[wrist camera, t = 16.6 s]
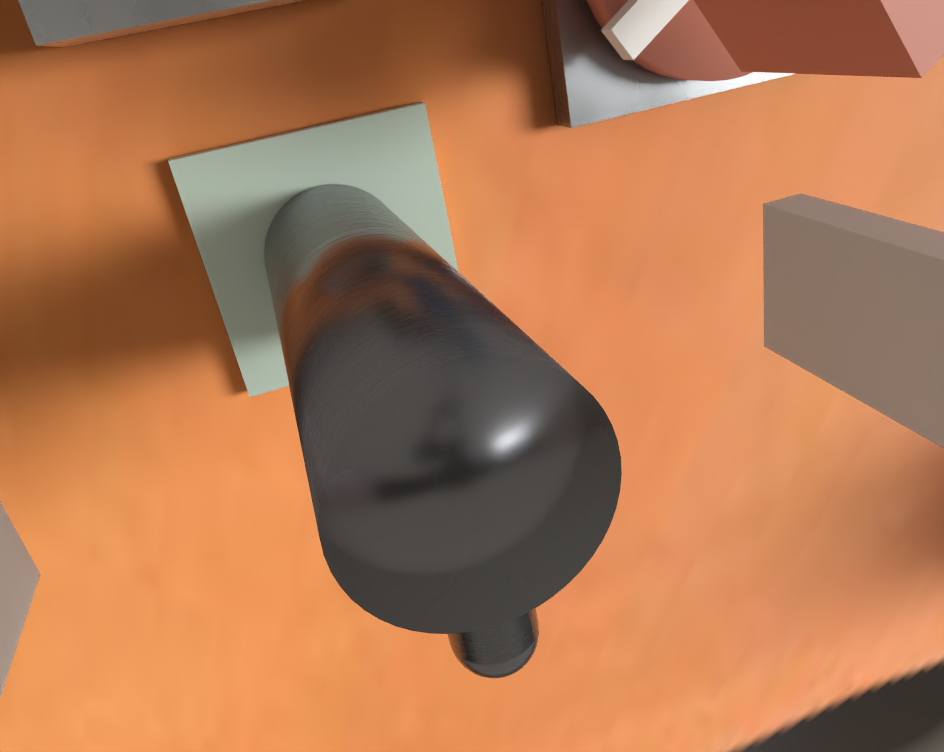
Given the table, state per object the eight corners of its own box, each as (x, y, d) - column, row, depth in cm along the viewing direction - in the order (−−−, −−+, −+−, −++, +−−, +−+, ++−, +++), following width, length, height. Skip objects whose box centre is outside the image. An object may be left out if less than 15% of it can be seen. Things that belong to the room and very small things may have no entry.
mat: (168, 158, 21) (167, 161, 20) (420, 102, 22) (424, 103, 21) (248, 390, 24) (249, 397, 23) (466, 328, 25) (470, 333, 24)
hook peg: (245, 202, 21) (277, 413, 9) (386, 168, 22) (603, 318, 9) (302, 387, 23) (391, 760, 11) (428, 351, 24) (645, 662, 12)
